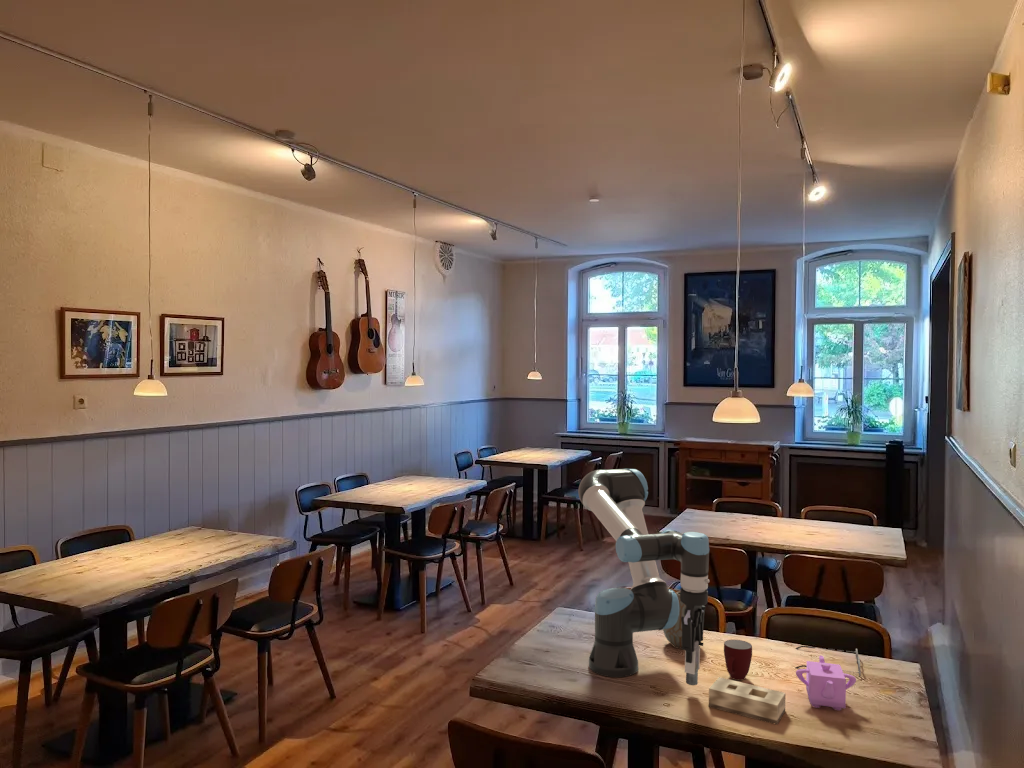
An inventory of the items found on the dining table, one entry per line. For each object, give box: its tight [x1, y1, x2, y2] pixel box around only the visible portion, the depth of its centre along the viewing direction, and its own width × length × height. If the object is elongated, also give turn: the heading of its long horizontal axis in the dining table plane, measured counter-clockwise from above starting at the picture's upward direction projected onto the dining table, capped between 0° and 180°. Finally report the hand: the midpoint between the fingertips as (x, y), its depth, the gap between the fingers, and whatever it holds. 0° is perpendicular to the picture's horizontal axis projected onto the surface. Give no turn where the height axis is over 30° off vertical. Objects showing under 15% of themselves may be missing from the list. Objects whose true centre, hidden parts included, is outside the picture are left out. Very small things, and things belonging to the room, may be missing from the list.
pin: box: [685, 639, 700, 686], centre depth 206 cm, size 3×3×12 cm
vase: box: [662, 590, 686, 650], centre depth 243 cm, size 13×13×18 cm
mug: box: [723, 639, 753, 681], centre depth 216 cm, size 11×8×10 cm
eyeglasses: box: [794, 645, 862, 677], centre depth 230 cm, size 18×19×4 cm
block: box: [708, 676, 786, 725], centre depth 197 cm, size 18×9×5 cm, turn 57°
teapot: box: [795, 655, 857, 711], centre depth 201 cm, size 15×13×11 cm
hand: (692, 670), depth 206 cm, fingers closed on pin, 3 cm apart
